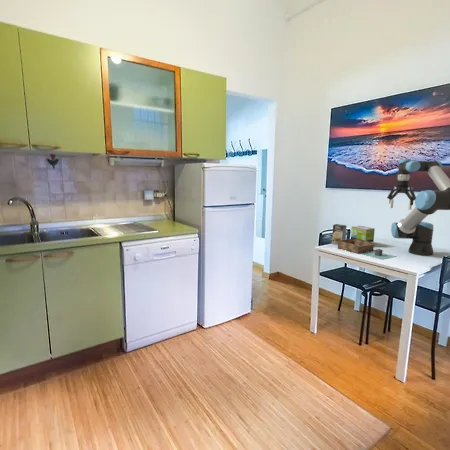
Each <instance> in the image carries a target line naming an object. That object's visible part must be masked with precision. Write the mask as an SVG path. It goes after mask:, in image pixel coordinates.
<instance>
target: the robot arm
mask: <svg viewBox="0 0 450 450" xmlns="http://www.w3.org/2000/svg"><path fill="white" fill-rule="evenodd" d="M397 169H398V170H397V181H396V186H391V187H392V188H391V190H390V192H389V194H388V195H387V199H389V209H392V208H394V198H395V197H396V196H397V195H398V194H405V195H406V196H407V198H408V199H409V200H408V207H407V208H408V209H407V210H411V211H410V213H408V215H406V217H405V218H402V219H400V220H399V221H398V222H392V224H391V228H390V231H391V232H390V233H391V236H392V238H394V239H399V240H400V239H403V240H404V239H407V240H408V239H411V240H412V242H411V243H410V246H409V248H408V253H410V254H413V255H418V256H419V255H420V256H427V257H428V256H433V255H434V248H433V244H432V243H433V241H432V240H433V234H434V224H433V223H431V222H425V221H424V220H425V219H426V218H427V217H428V216H429V215H433V214H435V213H436V212H437V211H450V178H449V176H448V175H447V174H446V172H444V170H442V169H443V163H442V161H440V160H412V159H411V158H402V159H399V160H398V168H397ZM411 173H427V175H428V176H429V178H430V179H431V180H432V181H433V183H434V185H436V187H437V188H438V190H430V189H427V190H421V191H419V192H418V193H417V195H416V194H415V192H414V191H415V190H414V187H413V186H410V187H409V184H410V181H409V180H410V174H411ZM408 190H409V191H408ZM413 205H414V206H415V207H414V208H413V209H412V206H413Z"/></svg>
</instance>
